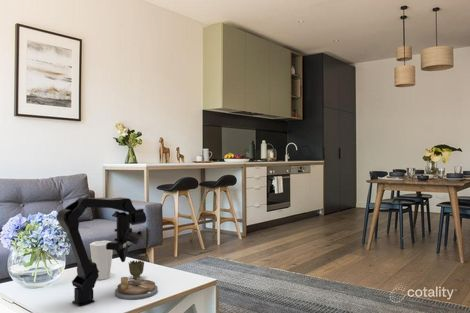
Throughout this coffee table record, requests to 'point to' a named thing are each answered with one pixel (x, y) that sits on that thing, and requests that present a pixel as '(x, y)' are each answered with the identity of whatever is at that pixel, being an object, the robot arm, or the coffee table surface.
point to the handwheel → (135, 286)
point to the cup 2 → (136, 268)
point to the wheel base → (137, 296)
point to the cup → (101, 258)
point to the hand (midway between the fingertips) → (123, 261)
